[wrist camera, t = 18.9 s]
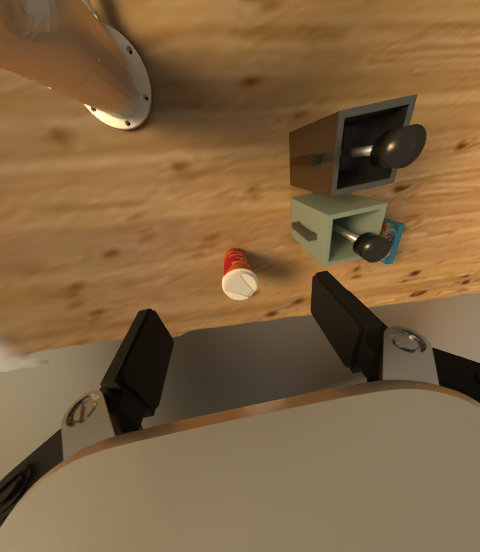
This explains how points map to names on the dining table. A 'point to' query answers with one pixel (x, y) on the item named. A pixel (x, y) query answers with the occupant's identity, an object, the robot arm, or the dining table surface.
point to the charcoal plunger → (392, 147)
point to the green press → (341, 211)
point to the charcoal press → (345, 147)
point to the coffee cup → (238, 276)
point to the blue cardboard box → (391, 237)
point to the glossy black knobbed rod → (366, 244)
